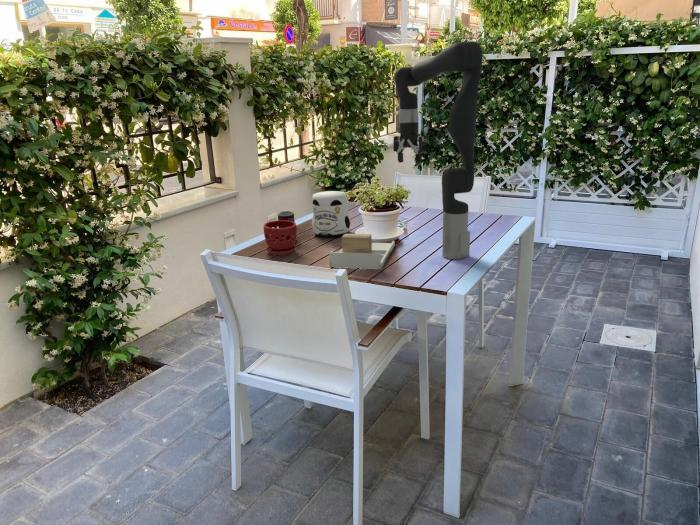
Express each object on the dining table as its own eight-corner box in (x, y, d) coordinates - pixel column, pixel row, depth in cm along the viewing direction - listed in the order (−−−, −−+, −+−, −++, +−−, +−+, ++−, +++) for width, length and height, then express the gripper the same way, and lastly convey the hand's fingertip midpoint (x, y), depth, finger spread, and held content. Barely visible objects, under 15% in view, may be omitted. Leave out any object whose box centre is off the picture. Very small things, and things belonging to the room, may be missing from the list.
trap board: (349, 244, 225) (349, 230, 223) (394, 245, 220) (394, 231, 218) (329, 267, 197) (329, 252, 196) (380, 270, 193) (380, 254, 191)
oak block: (346, 259, 202) (344, 233, 199) (372, 260, 200) (371, 234, 196) (342, 263, 197) (341, 237, 194) (369, 264, 195) (368, 238, 192)
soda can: (299, 238, 236) (297, 211, 232) (289, 242, 231) (287, 215, 227) (286, 236, 240) (284, 210, 236) (276, 241, 234) (274, 213, 230)
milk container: (318, 241, 231) (315, 200, 225) (308, 231, 247) (305, 192, 241) (356, 236, 236) (354, 195, 230) (344, 227, 252) (342, 189, 246)
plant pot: (268, 258, 211) (265, 229, 207) (263, 249, 223) (261, 221, 219) (301, 254, 214) (299, 225, 210) (295, 245, 226) (292, 218, 222)
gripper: (388, 121, 213) (389, 163, 218) (417, 121, 203) (417, 165, 208) (400, 120, 218) (401, 161, 223) (429, 120, 209) (429, 162, 213)
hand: (409, 162), depth 216 cm, fingers open, 8 cm apart
